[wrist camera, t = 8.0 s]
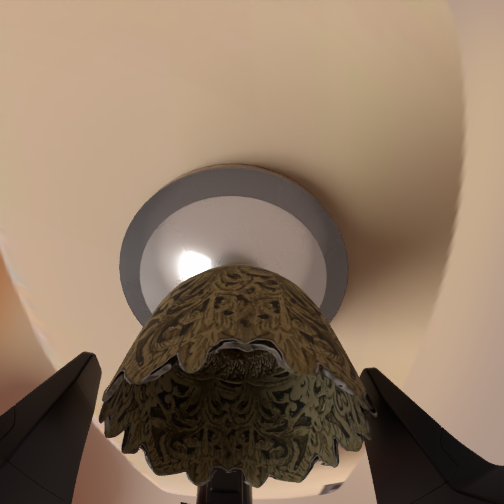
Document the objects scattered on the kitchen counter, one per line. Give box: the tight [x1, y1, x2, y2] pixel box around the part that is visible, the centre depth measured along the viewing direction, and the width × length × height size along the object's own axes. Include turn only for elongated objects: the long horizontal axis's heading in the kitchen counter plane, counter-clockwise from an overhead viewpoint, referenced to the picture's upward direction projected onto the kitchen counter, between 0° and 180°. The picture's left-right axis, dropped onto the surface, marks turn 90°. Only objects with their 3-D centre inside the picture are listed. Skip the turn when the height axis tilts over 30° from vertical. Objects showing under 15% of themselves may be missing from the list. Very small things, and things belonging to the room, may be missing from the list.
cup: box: [99, 264, 377, 488], centre depth 10 cm, size 8×7×8 cm
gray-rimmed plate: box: [119, 164, 348, 327], centre depth 14 cm, size 11×11×1 cm
